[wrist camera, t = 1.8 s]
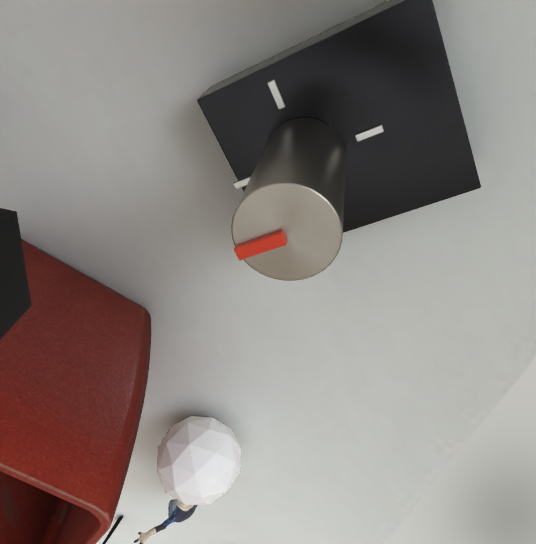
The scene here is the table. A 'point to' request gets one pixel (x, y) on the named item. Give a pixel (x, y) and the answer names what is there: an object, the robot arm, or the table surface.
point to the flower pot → (68, 405)
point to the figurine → (195, 466)
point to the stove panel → (359, 110)
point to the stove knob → (293, 202)
